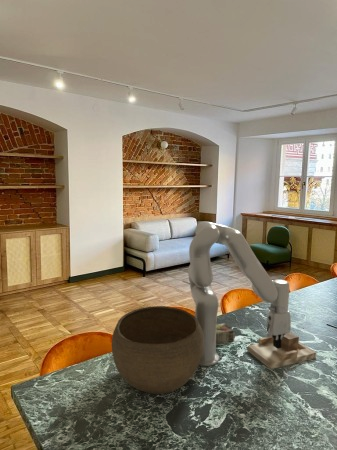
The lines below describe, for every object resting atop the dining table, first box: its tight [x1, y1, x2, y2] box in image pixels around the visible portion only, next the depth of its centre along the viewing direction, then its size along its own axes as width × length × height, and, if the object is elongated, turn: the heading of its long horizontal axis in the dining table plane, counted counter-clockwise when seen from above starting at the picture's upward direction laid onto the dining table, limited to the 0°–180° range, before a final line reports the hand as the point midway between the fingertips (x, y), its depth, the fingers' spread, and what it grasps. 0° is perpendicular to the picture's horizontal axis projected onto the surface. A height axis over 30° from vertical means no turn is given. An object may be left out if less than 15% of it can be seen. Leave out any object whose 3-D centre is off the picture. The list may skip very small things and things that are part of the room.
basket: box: [111, 305, 204, 395], centre depth 130 cm, size 35×35×25 cm
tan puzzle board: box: [247, 336, 317, 370], centre depth 152 cm, size 25×16×5 cm, turn 112°
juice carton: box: [216, 323, 236, 344], centre depth 165 cm, size 20×10×6 cm, turn 111°
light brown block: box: [281, 331, 300, 352], centre depth 153 cm, size 6×6×6 cm
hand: (276, 346), depth 150 cm, fingers closed
